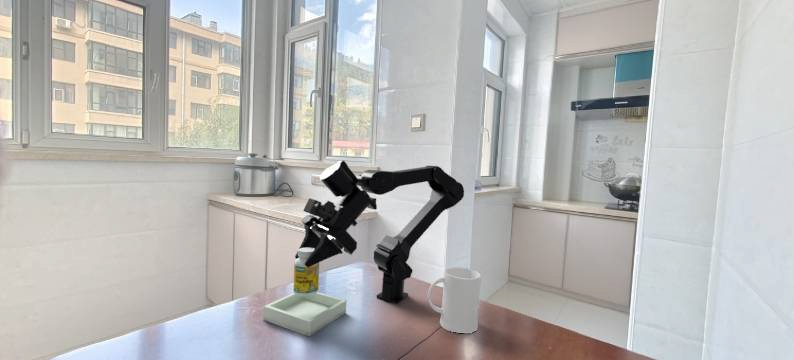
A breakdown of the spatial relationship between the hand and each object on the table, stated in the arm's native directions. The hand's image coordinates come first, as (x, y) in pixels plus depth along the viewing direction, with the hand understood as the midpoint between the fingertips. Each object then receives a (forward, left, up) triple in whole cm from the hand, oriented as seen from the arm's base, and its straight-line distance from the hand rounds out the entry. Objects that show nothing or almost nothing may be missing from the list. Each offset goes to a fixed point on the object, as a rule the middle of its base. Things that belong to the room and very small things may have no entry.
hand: (301, 262), depth 74 cm
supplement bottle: (-1, +1, -7) cm, 7 cm away
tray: (-1, +1, -12) cm, 12 cm away
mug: (-16, +30, -13) cm, 36 cm away
